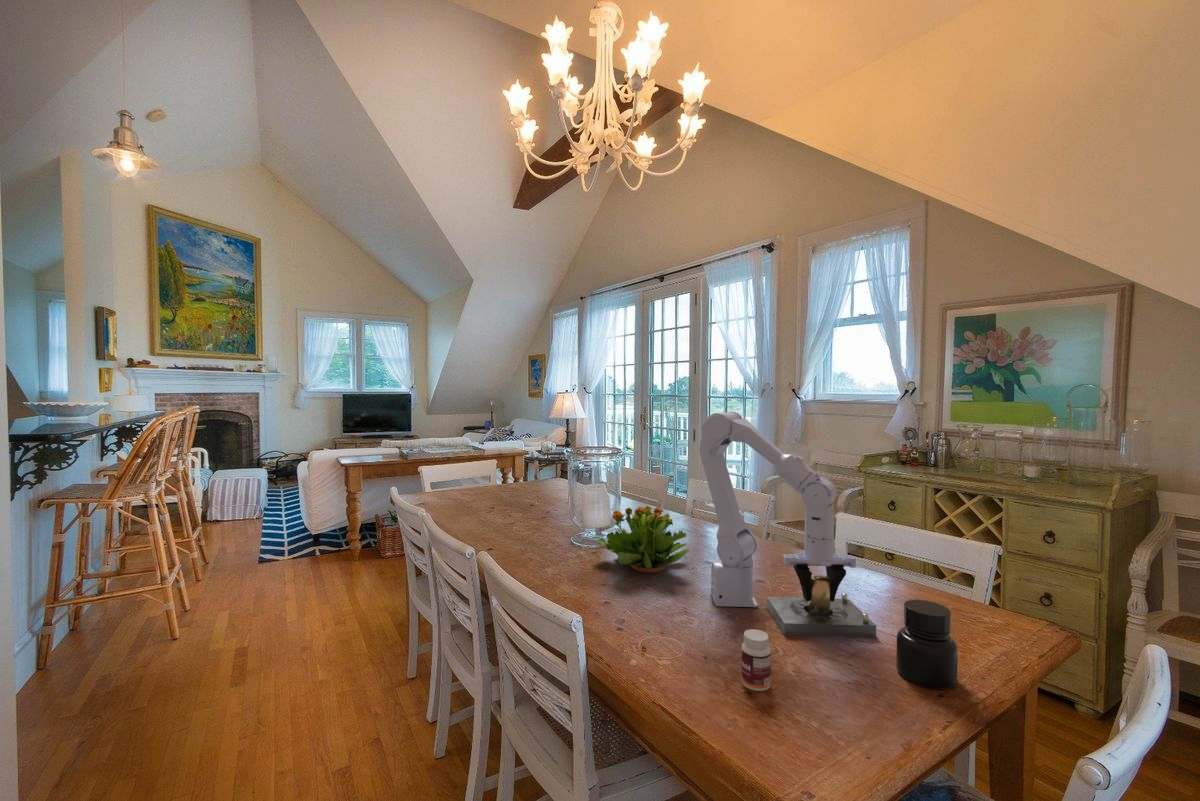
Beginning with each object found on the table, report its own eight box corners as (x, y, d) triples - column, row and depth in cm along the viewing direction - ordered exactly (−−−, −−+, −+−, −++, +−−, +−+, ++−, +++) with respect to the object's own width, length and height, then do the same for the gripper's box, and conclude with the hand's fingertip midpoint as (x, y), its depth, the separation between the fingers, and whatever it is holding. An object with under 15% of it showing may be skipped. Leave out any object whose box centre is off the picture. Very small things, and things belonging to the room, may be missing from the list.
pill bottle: (736, 676, 88) (737, 628, 88) (763, 675, 89) (764, 627, 89) (747, 692, 84) (747, 642, 83) (775, 691, 84) (775, 640, 84)
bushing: (810, 612, 107) (811, 581, 107) (805, 603, 111) (805, 573, 111) (833, 613, 106) (833, 582, 106) (826, 604, 111) (827, 574, 110)
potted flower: (670, 549, 157) (671, 493, 157) (713, 576, 135) (714, 510, 135) (594, 559, 149) (594, 499, 148) (626, 589, 126) (627, 519, 126)
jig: (784, 635, 103) (784, 615, 103) (766, 607, 116) (767, 589, 116) (876, 637, 102) (876, 617, 102) (848, 609, 115) (848, 591, 115)
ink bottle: (972, 686, 86) (973, 615, 85) (934, 697, 83) (936, 623, 82) (918, 657, 95) (919, 593, 94) (882, 666, 92) (883, 600, 91)
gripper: (790, 541, 105) (789, 606, 105) (862, 542, 104) (862, 608, 105) (780, 531, 112) (779, 593, 112) (847, 532, 111) (847, 594, 112)
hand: (818, 599), depth 109 cm, fingers closed on bushing, 4 cm apart
